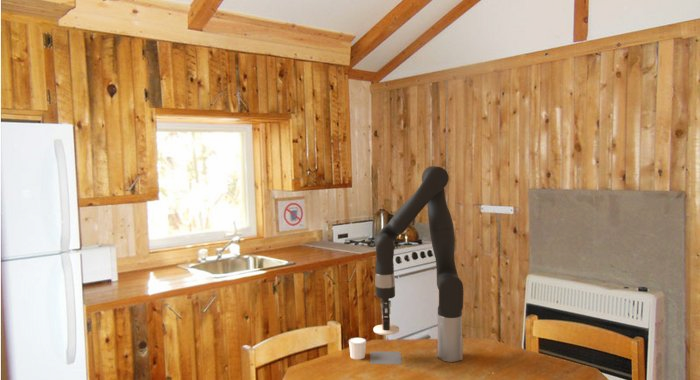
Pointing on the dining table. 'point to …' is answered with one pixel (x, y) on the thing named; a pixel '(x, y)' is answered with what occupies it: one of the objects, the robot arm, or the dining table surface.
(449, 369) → the dining table surface
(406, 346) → the dining table surface
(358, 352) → the white cup
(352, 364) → the dining table surface
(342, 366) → the dining table surface
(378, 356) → the mat
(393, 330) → the lid
